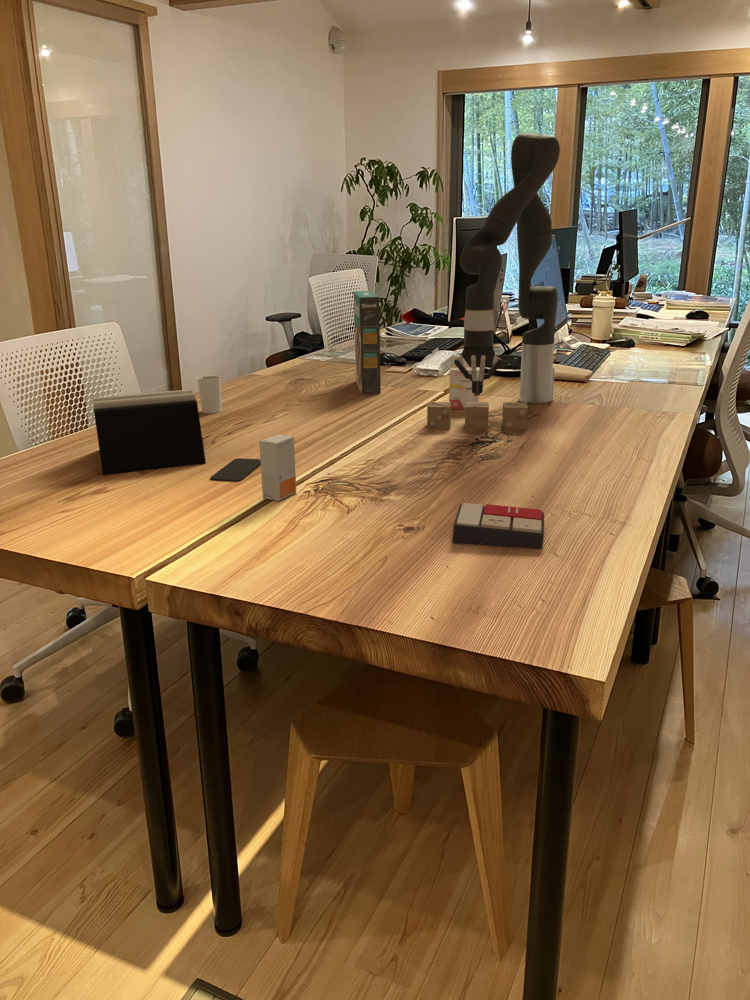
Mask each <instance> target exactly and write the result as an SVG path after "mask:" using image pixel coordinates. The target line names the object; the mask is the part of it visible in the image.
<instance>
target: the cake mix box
mask: <svg viewBox="0 0 750 1000" xmlns="http://www.w3.org/2000/svg"><path fill="white" fill-rule="evenodd" d="M353 314H354V316H353V318H354V319H353V320H354V324H353V326H354V355H355V356H354V357H355V362H354V363H355V383H356V385H357V387H358V389H359V391H360V394H361V395H381V394H382V393H381V392H382V390H381V389H382V387H381V385H382V383H381V381H382V380H381V330H380V328H381V327H380V323H381V322H380V321H381V320H380V296H379V295H378V294H376V292H374V291H372V290H365V291H364V290H363V291H362V290H361V291H360V290H358V291H355V290H354V291H353Z"/></svg>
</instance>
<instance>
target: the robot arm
mask: <svg viewBox="0 0 750 1000" xmlns="http://www.w3.org/2000/svg"><path fill="white" fill-rule="evenodd" d="M560 147H561V146H560V143H559V140H558V138H557V137H555V136H553V135H547V134H537V133H527V132H525V133H520V134H518V135H517V136H516V137H515V138H514V140H513V143H512V145H511V151H510V162H511V165H510V166H511V173H512V181H513V188H511V189H510V190H509V191H508V192H506V193H505V194H504V195H503V196H502V197H500V198H499V199H498V200H497V201H496V202H495V204H494V205H493V207H491V210H490V211H489V214H488V215H487V217H486V218H485V221H484V223H483V225H482V226H481V227H480V229H479V230H478V231H476V233H475V234H474V235H473V236H472V237H471V238H470V240H468V242H467V243H466V244H465V246H464V247H463V249H462V251H461V253H460V257H459V265H460V268H461V271H463V272H464V273H465V274H468V275H475V276H476V275H478V279H477V281H476V283H475V284H471V285H469V286H467V288H466V291H465V311H464V321H463V350H462V351H461V354H460V355H458V356H459V357H458V358H455V359H454V363H455V365H456V366H457V367H458V369H459V370H460V371H461V373H462V374H463V375H464V376H465V378H466V379H470V380H471V381H472V393H474V395H479V396H481V394H482V393H484V389H483V388H484V381H486V380H489V379H491V378H492V376H493V375H494V374H495V372H496V371H497V370H499V368H500V366H502V364H503V359H502V358H501V357H499V356H498V355H496V350H494V337H495V335H494V334H495V333H494V332H495V313H494V306H495V305H494V304H495V303H494V301H495V299H494V297H495V291H496V287H497V283H498V280H499V276H500V273H501V269H502V265H503V258H502V254H501V251H500V250H499V248H498V247H499V246H502V245H504V244H505V243H506V242H507V241H508V239H509V237H510V236H511V233H512V232H513V230H514V228H515V226H516V243H517V255H518V256H517V257H518V258H517V259H518V305H517V306H518V313H519V315H520V317H521V318H522V319H525V320H543V322H542V324H541V325H540V326H538V327H536V328H534V329H531V330H527V331H525V332H524V333H522V338H521V360H520V362H521V363H520V380H519V381H520V382H519V383H520V384H519V401H520V402H526V404H545V403H546V404H547V403H550V402H551V401H553V399H554V384H555V367H553V366H554V351H555V332H556V319H557V310H558V303H559V300H558V299H559V297H558V296H559V294H558V290H557V288H556V287H555V286H550V285H549V286H548V285H547V286H545V285H544V286H543V285H542V286H539V285H538V286H537V285H534V286H532V283H531V282H532V279H533V277H534V275H535V273H536V270H537V269H538V267H539V266H540V264H541V263H542V262H543V260H544V259H545V257H546V255H547V254H548V252H549V251H550V249H551V246H552V242H553V241H552V240H553V237H552V234H553V229H552V225H553V224H552V223H553V222H552V218H551V216H550V213H549V211H548V209H547V207H546V205H545V204H544V202H543V200H542V198H541V197H540V195H539V193H538V192H539V191H540V189H541V188H542V187H543V186H544V184H545V182H546V181H547V180H548V178H549V177H550V176H551V174H552V173H553V171H554V170H555V168H556V166H557V164H558V161H559V158H560V155H561V151H560V150H561V148H560ZM463 358H464V360H463ZM464 361H465V362H467V364H468V365H469V366H470V367H471V368H472V374H470V373H469V372H468V371H467V370H466V368H465V367H464V366H463V363H464ZM491 362H492V366H491V367H490V368H489V369H488V371H487V372H486V373H485V368H487V367H488V365H490V363H491ZM477 367H479V377H478V386H477V372H476V368H477Z"/></svg>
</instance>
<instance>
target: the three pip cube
mask: <svg viewBox="0 0 750 1000" xmlns="http://www.w3.org/2000/svg"><path fill="white" fill-rule="evenodd" d="M426 407H427V408H426V411H427V412H426V421H427V423H426V427H427V428H426V429H427V430H450V429H451V423H452V422H451V421H452V420H451V419H452V417H451V416H452V415H451V413H452V412H451V411H452V409H451V402H449V401H427V406H426Z"/></svg>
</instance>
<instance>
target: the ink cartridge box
mask: <svg viewBox="0 0 750 1000" xmlns="http://www.w3.org/2000/svg"><path fill="white" fill-rule="evenodd" d="M459 356H460V355H457V356H456V355H455V356H454V355H452V356H451V357H450V368H449V390H448V392H449V394H448V396H449V397H448V402H451V410H465V406H466V402H480V401H479V399H480V397H479V396H480V395H474V393H472V381H471V380H470V379H466V378H465V376H464V375H463V374H462V373H461V371H460V370H459V369H458V367H457V366H456V365H455V363H454V359H455V358H458V357H459ZM463 361H465V360H464V358H463ZM463 366H464V367H465V368H466V370H467V371H468V372H469V373H470V374H472V368H471V367H470V366H469V365H468V364H467V362H466V361H465V362H464V363H463ZM476 372H477V386H478V377H479V367H477V368H476Z"/></svg>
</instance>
